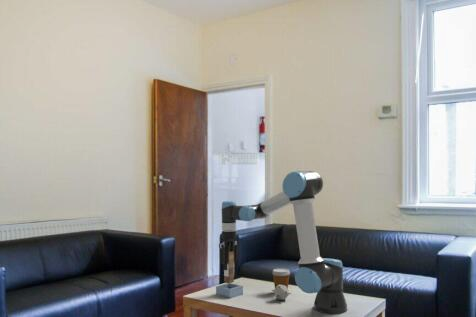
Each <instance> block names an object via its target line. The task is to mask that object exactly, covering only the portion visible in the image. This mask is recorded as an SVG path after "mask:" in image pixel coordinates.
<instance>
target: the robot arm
mask: <svg viewBox="0 0 476 317" xmlns="http://www.w3.org/2000/svg"><path fill="white" fill-rule="evenodd" d="M281 186H282V191H280V192H279V193H277V194H275V195H273V196H271V197H269V198H266V199H265V200H263V201H261V202H260V203H257V204H251V205H250V204H249V205H237V203H236V201H233V200H225V201H222V202H221V209H220V210H221V238H222V242H221V243H219V244H218V248H219V261H220V263H221V264H223V265H222V266H223V272H224V273H223V276H227V277H228V276H229V264H227V263H228V252H229V251H234V269H235V265H236V263H237V261H238V259H239V256H238V255H239V243H240V242H239V241H237V240H236V238H237V231H236V230H237V221H242V222H251V221H253V220H261V219H266V218H268V217H269V216H270V214H273V213H275V212H277V211H279V210H281V209H283V208H285V207H287V206H290V205H292V206H293V212H294V220H295V227H296V233H297V241H298V247H299V254H300V259H299V261H298V262H297V265H298V269H297V270H296V272H295V274H294V281H295V283H296V285H297V287H298V288H299V289H300V290H301V292H303V293H306V294H316V295H315V298H314V302H313V308H314V310H315V311H317V312H321V313H325V314H340V313H341V314H342V313H345V312H347V310H348V304H347V300H346V298H345V295H344V281H343V280H344V279H343V278H344V276H343V275H344V274H343V271H344V270H343V269H344V267H343V262H342V260H340V259H337V258H336V259H335V258H327V257H326V258H324V257H322V256H321V255H320V247H319V241H318V234H317V226H316V220H315V214H314V207H313V206H314V205H313V203H314V201H315V200H316V198H315V196H317V195H318V194H319V193H321V191H322V190H323V187H324V181H323V178H322V176H321V175H320V174H319V173H318V172H316V171H311V170H308V171H305V170H303V171H302V170H296V171H291V172H289V173H288V174H286V176H285V177H284V178H283V181H282V185H281Z"/></svg>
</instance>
